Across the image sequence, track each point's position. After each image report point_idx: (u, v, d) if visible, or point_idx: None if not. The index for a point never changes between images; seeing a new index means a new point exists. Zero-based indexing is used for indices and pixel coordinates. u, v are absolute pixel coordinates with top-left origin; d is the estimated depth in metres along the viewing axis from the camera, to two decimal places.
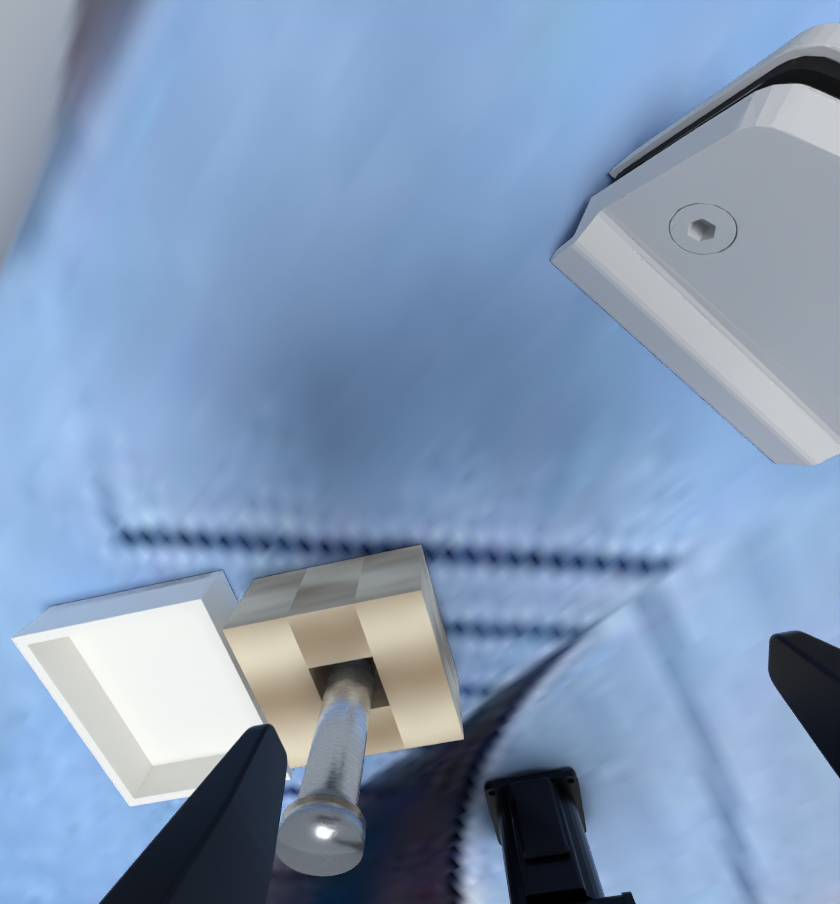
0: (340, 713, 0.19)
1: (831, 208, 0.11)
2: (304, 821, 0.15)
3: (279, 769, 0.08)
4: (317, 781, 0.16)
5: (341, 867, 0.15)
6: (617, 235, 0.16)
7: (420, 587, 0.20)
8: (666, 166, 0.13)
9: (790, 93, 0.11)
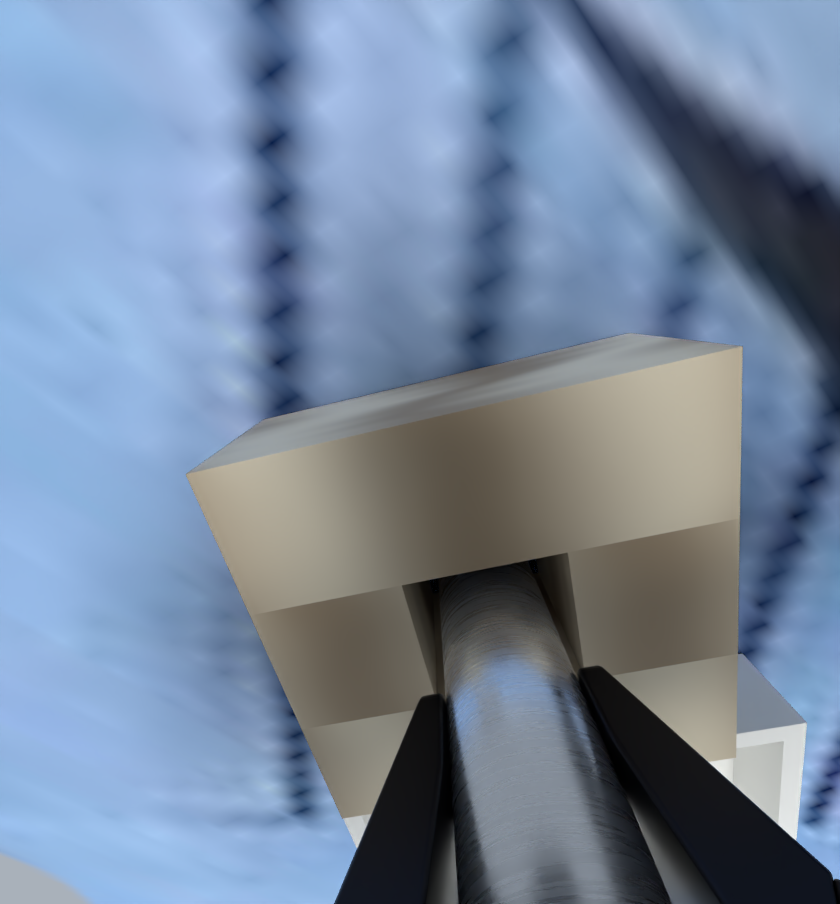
0: (449, 745, 0.07)
1: None
2: None
3: None
4: None
5: None
6: None
7: None
8: None
9: None
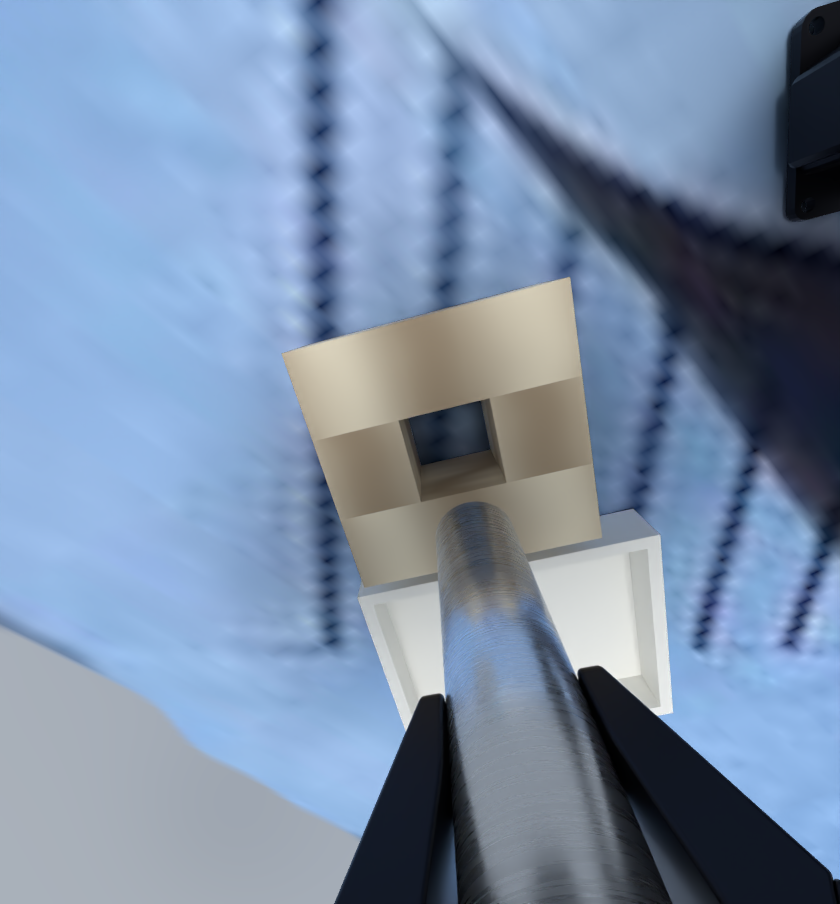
0: (449, 744, 0.07)
1: None
2: None
3: None
4: None
5: None
6: None
7: None
8: None
9: None
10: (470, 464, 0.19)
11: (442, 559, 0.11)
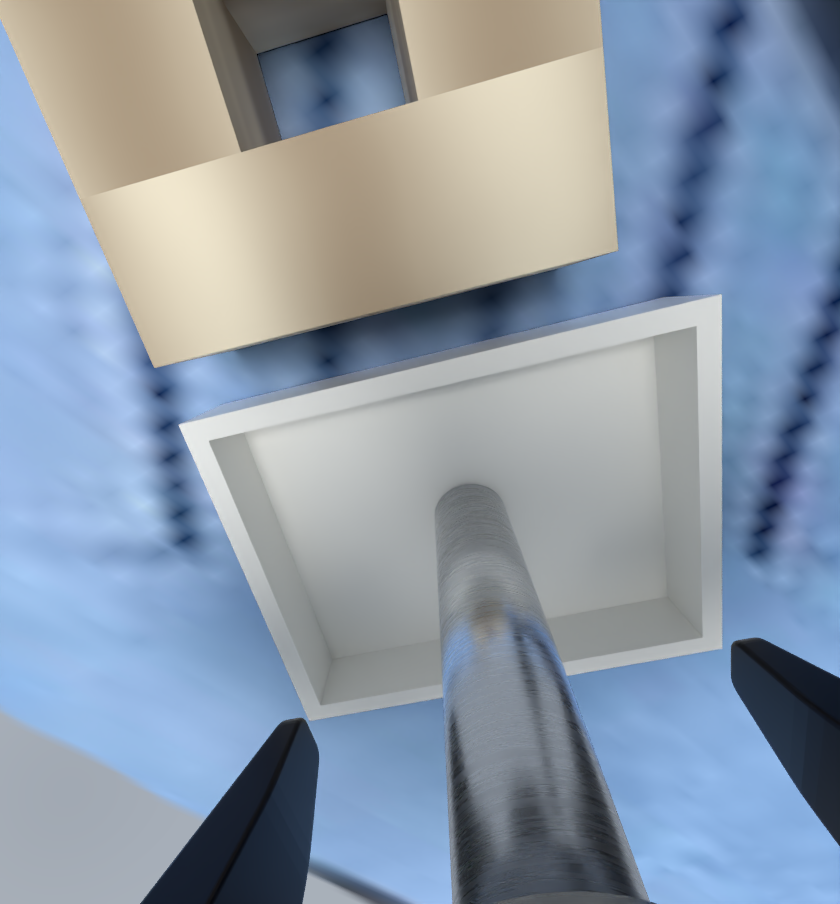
0: (442, 683, 0.08)
1: None
2: None
3: (312, 764, 0.07)
4: None
5: None
6: None
7: None
8: None
9: None
10: None
11: (440, 535, 0.12)
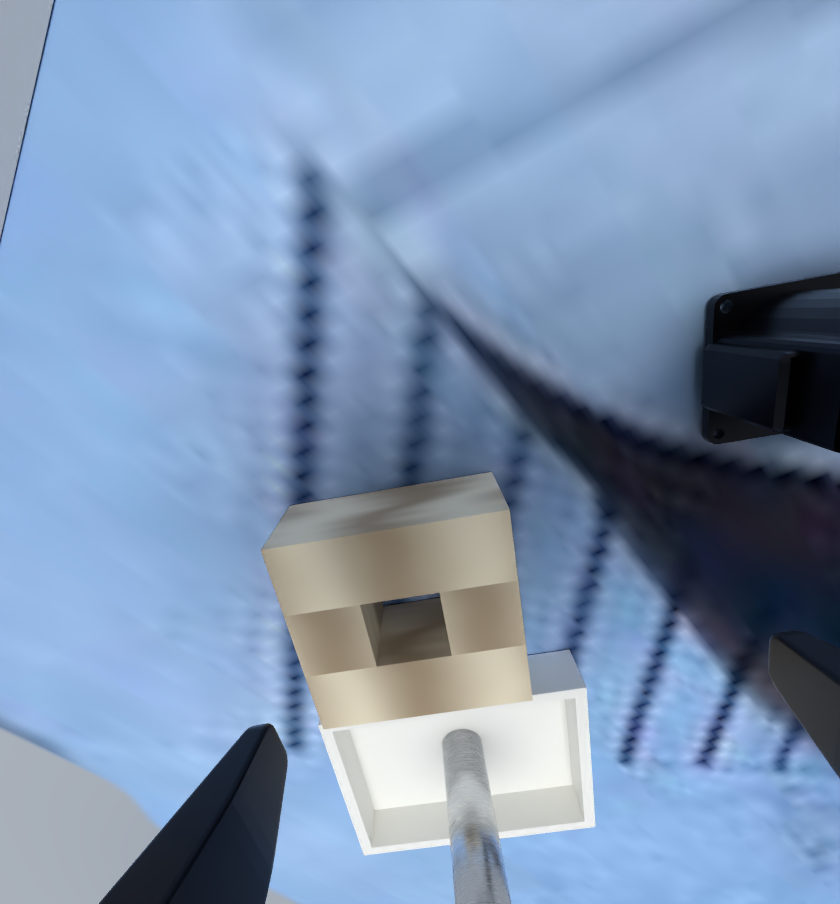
0: (453, 878, 0.19)
1: None
2: None
3: (279, 769, 0.08)
4: None
5: None
6: None
7: (263, 547, 0.17)
8: None
9: None
10: (425, 616, 0.21)
11: (447, 770, 0.23)
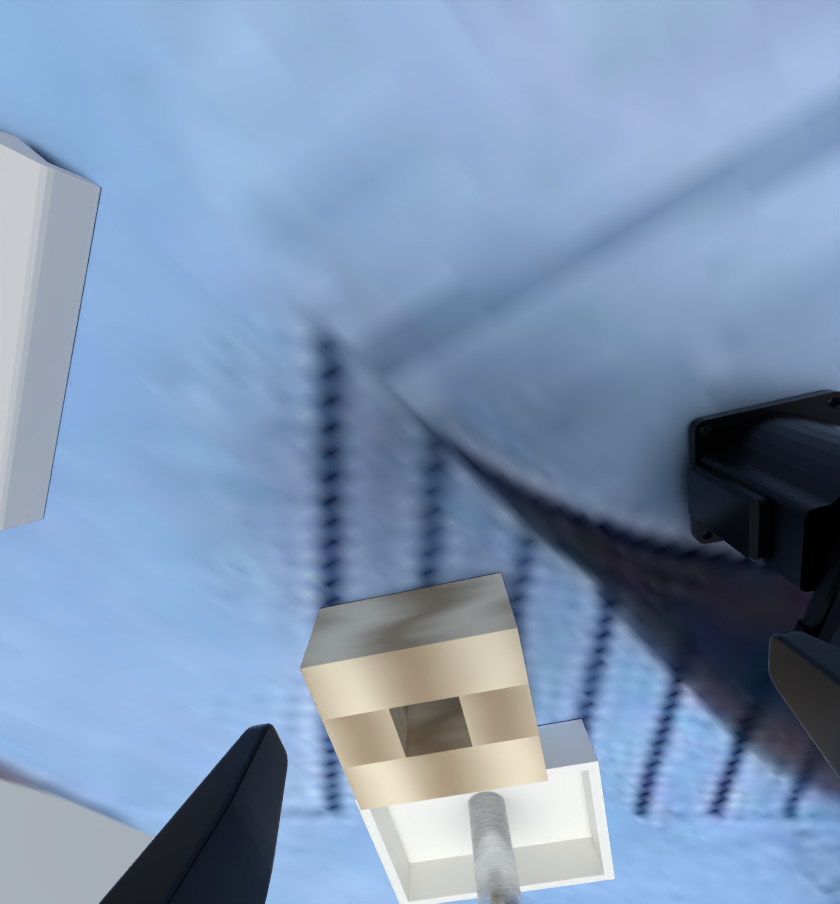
0: None
1: None
2: None
3: (279, 769, 0.08)
4: None
5: None
6: None
7: (302, 664, 0.19)
8: None
9: None
10: (447, 701, 0.23)
11: (474, 834, 0.25)
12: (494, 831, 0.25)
